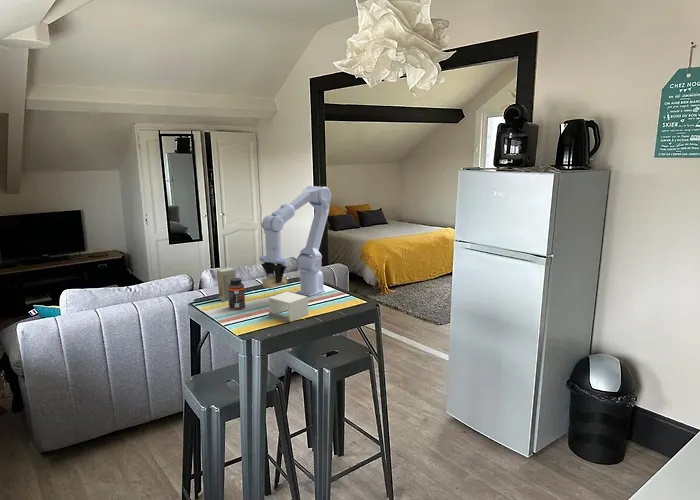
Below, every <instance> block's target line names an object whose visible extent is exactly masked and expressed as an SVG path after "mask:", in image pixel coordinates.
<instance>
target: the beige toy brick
mask: <svg viewBox="0 0 700 500" xmlns="http://www.w3.org/2000/svg"><path fill="white" fill-rule="evenodd" d="M261 281H262V283H261V284H262V288H266V289H273V288H276V287H280V286H284V285H287V284H288V276H287V275H284V274H283V277H282V282H281V283H276V277H275V275H274V276H273V274H268V278H267V277H266V278H262V280H261Z"/></svg>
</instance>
